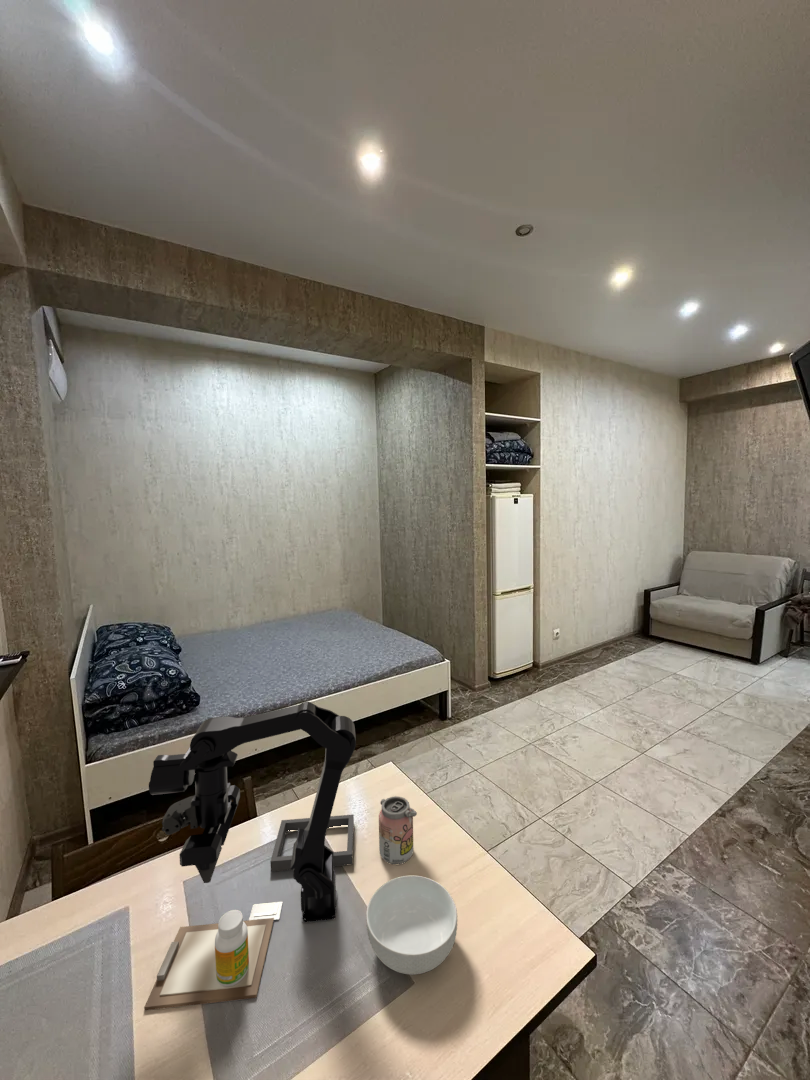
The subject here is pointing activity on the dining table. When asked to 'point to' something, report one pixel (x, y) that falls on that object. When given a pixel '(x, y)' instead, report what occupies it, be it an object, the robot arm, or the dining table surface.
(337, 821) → the empty rectangular frame
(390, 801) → the beverage can
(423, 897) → the cereal bowl
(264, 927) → the clipboard
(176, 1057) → the dining table surface
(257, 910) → the letter card
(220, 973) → the supplement bottle
